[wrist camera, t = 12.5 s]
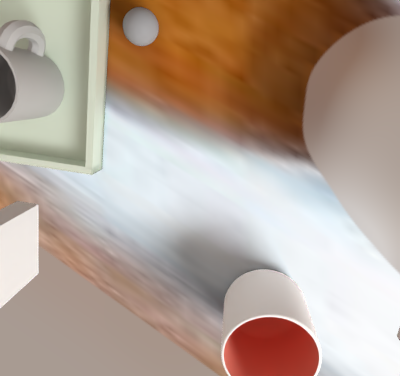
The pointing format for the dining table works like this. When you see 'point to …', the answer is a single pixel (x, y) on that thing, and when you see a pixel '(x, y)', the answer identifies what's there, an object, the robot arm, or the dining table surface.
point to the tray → (73, 86)
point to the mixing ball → (140, 26)
